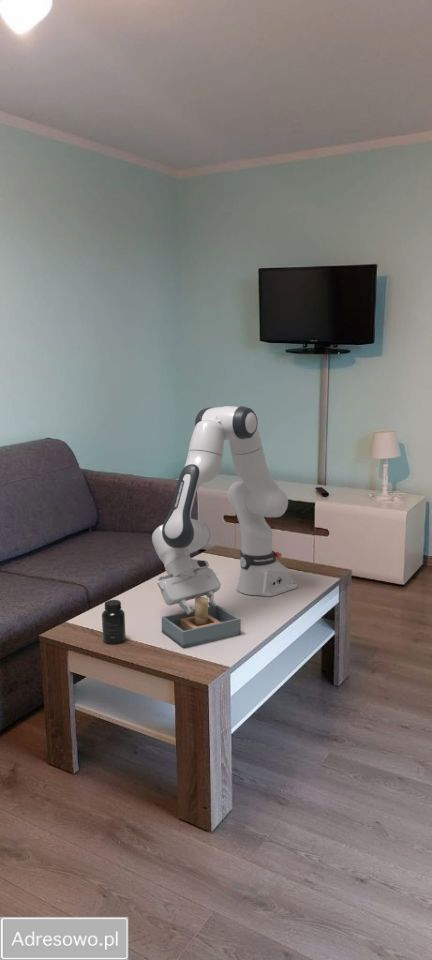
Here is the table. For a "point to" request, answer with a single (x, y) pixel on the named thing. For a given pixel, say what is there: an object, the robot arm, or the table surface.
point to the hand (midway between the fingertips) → (202, 609)
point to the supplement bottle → (113, 622)
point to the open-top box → (201, 627)
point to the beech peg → (201, 611)
